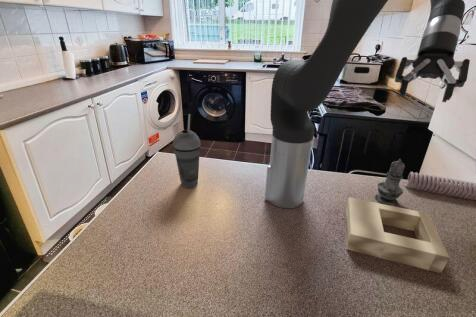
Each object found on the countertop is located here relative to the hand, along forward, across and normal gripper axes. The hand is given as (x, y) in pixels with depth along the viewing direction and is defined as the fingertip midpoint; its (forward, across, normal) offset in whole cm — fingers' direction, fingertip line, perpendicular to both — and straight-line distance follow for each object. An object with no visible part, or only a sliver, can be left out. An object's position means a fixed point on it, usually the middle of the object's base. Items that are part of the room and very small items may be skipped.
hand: (423, 98), depth 63 cm
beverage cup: (+39, -48, -12) cm, 63 cm away
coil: (+18, +10, +19) cm, 28 cm away
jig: (+35, 0, -4) cm, 35 cm away
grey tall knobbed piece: (+25, -2, +8) cm, 27 cm away
